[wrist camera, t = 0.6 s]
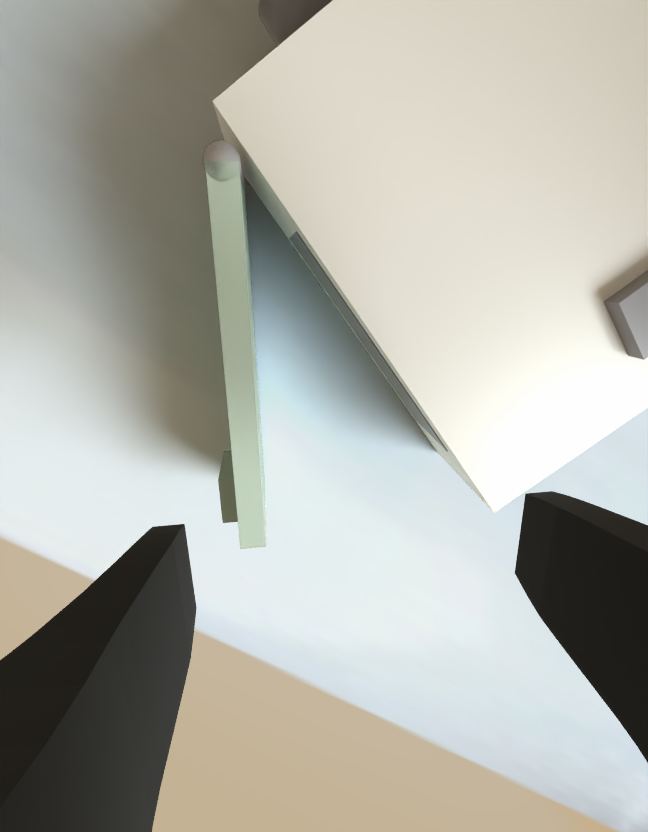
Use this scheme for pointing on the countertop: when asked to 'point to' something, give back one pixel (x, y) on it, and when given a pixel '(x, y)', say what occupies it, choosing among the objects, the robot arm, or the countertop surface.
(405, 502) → the countertop surface
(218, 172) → the side door
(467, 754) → the countertop surface
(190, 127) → the countertop surface
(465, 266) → the camera box
